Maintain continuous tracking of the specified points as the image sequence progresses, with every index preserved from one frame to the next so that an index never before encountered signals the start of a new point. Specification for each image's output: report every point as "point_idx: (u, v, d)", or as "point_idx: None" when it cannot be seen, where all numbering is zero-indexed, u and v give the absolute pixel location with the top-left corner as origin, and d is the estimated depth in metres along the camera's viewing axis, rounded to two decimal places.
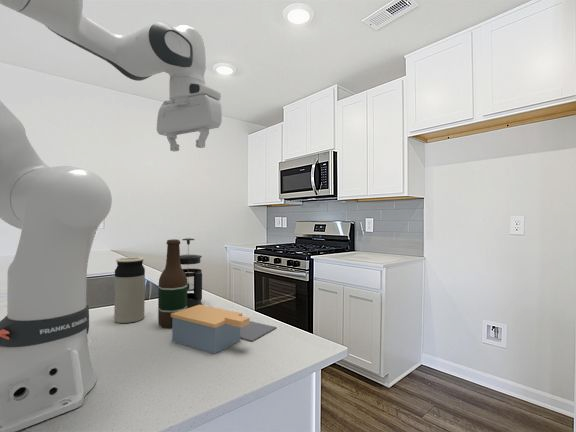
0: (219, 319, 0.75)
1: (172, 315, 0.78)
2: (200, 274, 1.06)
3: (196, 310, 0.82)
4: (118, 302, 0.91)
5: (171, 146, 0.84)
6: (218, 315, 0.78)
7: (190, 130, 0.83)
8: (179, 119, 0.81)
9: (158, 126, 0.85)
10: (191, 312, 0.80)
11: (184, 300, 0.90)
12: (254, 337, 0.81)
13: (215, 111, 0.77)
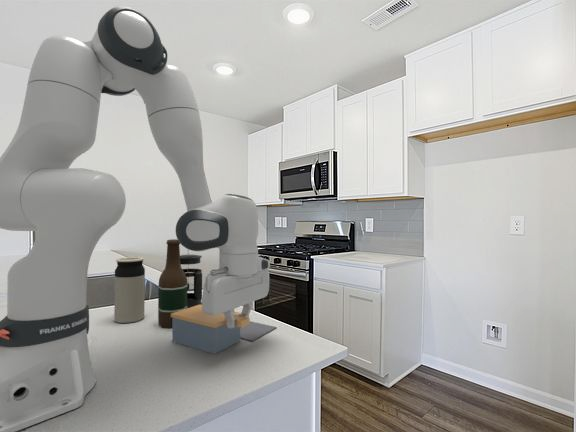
0: (219, 319, 0.75)
1: (172, 315, 0.78)
2: (200, 274, 1.06)
3: (196, 310, 0.82)
4: (118, 302, 0.91)
5: (234, 323, 0.72)
6: (218, 315, 0.78)
7: None
8: (242, 294, 0.73)
9: (217, 306, 0.66)
10: (191, 312, 0.80)
11: (184, 300, 0.90)
12: (254, 337, 0.81)
13: None
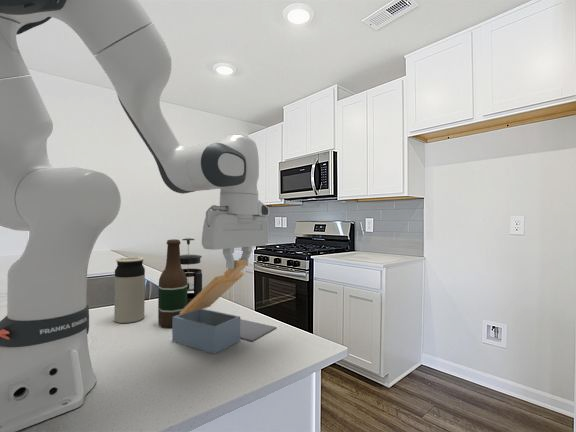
0: None
1: (181, 312, 0.76)
2: (200, 274, 1.06)
3: None
4: (118, 302, 0.91)
5: (234, 264, 0.71)
6: None
7: None
8: (242, 235, 0.73)
9: (217, 240, 0.65)
10: None
11: (184, 300, 0.90)
12: (254, 337, 0.81)
13: None
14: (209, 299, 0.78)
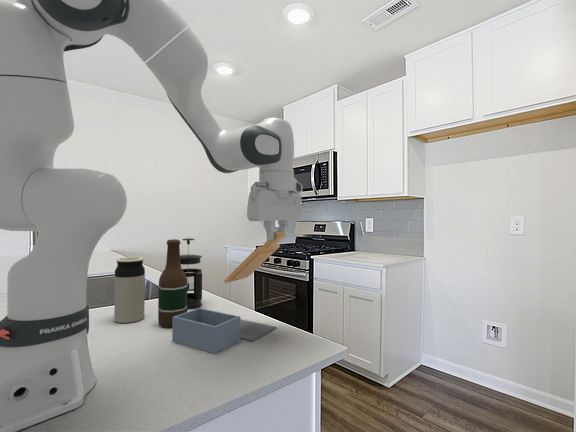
0: None
1: (225, 280, 0.84)
2: (200, 274, 1.06)
3: None
4: (118, 302, 0.91)
5: (273, 235, 0.79)
6: None
7: None
8: (280, 209, 0.80)
9: (261, 212, 0.73)
10: None
11: (184, 300, 0.90)
12: (254, 337, 0.81)
13: None
14: (250, 269, 0.86)
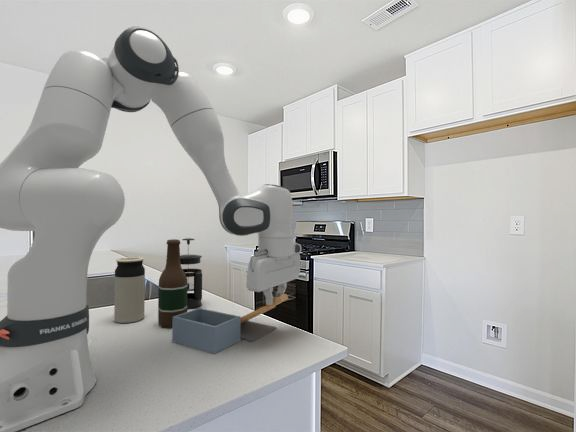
0: None
1: None
2: (200, 274, 1.06)
3: None
4: (118, 302, 0.91)
5: (273, 300, 0.80)
6: None
7: None
8: (279, 274, 0.81)
9: (260, 283, 0.74)
10: None
11: (184, 300, 0.90)
12: (254, 337, 0.81)
13: None
14: None
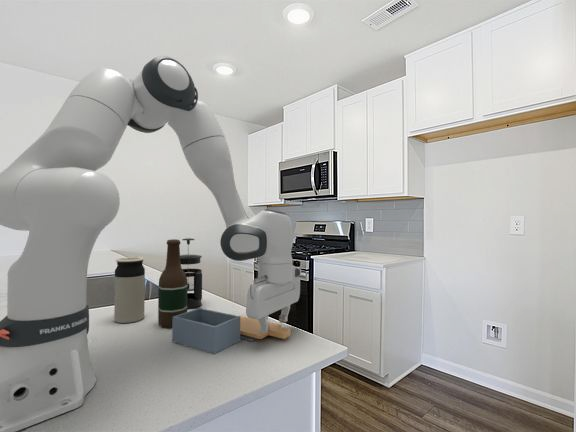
0: None
1: None
2: (200, 274, 1.06)
3: None
4: (118, 302, 0.91)
5: (268, 328, 0.78)
6: (260, 326, 0.85)
7: None
8: (279, 299, 0.81)
9: (260, 311, 0.73)
10: None
11: (184, 300, 0.90)
12: None
13: None
14: None
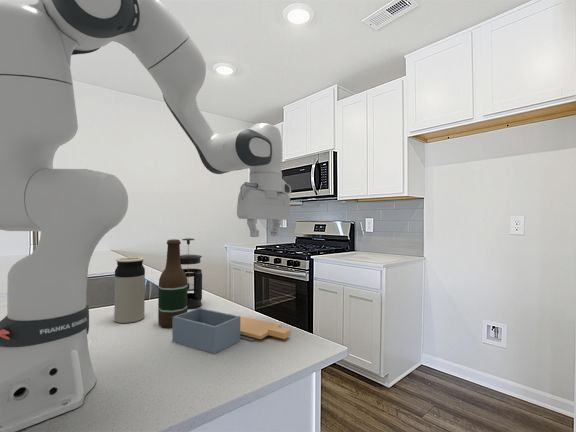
0: (262, 330, 0.82)
1: None
2: (200, 274, 1.06)
3: None
4: (118, 302, 0.91)
5: (257, 233, 0.82)
6: (260, 326, 0.85)
7: None
8: (269, 209, 0.85)
9: (250, 210, 0.78)
10: None
11: (184, 300, 0.90)
12: None
13: None
14: None
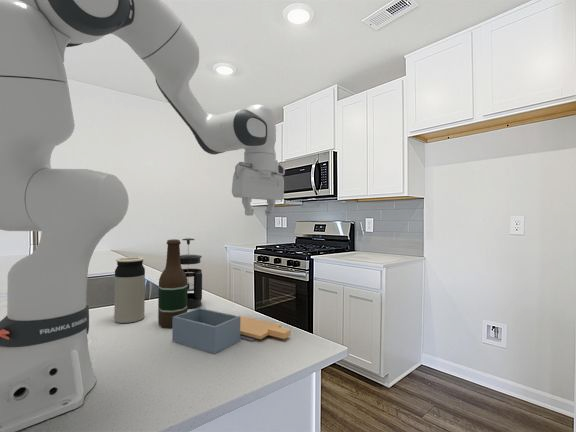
0: (262, 330, 0.82)
1: None
2: (200, 274, 1.06)
3: None
4: (118, 302, 0.91)
5: (251, 211, 0.85)
6: (260, 326, 0.85)
7: None
8: (263, 188, 0.88)
9: (244, 189, 0.81)
10: None
11: (184, 300, 0.90)
12: None
13: None
14: None
